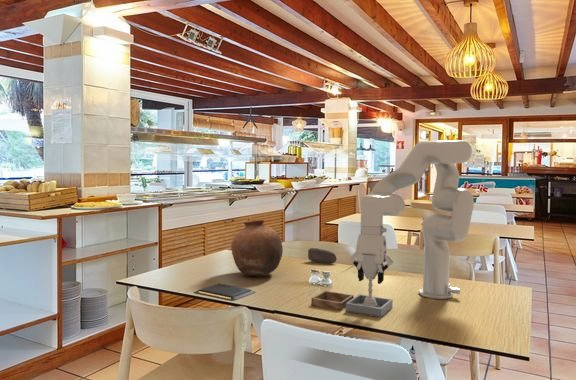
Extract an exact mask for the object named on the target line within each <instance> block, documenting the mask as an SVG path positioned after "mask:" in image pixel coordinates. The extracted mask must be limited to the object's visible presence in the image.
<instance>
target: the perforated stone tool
mask: <svg viewBox="0 0 576 380" xmlns="http://www.w3.org/2000/svg"><path fill="white" fill-rule="evenodd" d="M307 251H308V253H307V258H308V259H309V261H311V262H314V263H320V264H334V263H335V262H337V259H338V258H337V256H336V255H337V254H335V253H333V252H332V251H331V250H327V249H323V248H315V247H311V248H309V249H308V250H307Z"/></svg>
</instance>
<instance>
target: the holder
mask: <svg viewBox="0 0 576 380" xmlns="http://www.w3.org/2000/svg"><path fill="white" fill-rule="evenodd" d="M354 297H355V296H354V294H348V293H342V292H337V291H330V290H324V291H322V292H320V293H318V294H316V295H315V296H313V297H311V306H314V307H319V306H320V308H325V307H326V308H327V309H331V308H332V309H331V310H336V309H339V310H338V311H342V309H343V308H344V309H346V303H347V302H348V301H350V300H351V299H353V298H354ZM327 299H329V300H327ZM331 299H332V300H331ZM333 300H337V301H333ZM341 300H342V301H341ZM339 301H341V302H339ZM326 308H325V309H326ZM344 309H343V310H344Z"/></svg>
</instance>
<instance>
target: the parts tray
mask: <svg viewBox="0 0 576 380" xmlns="http://www.w3.org/2000/svg"><path fill="white" fill-rule="evenodd" d="M368 296H369V295H366V294H357V295H356V296H354V298H353V299H351V300H350V301H348V302H347V303H346V307H345V312H346V311H347V312H346V313H350V312H353V313H352V314H356V313H359V314H358V315H361V314H365V315H364V316H367V315H372V316H371V317H373V316H377V317H376V318H378V317H382V316H383V315H384V314H385V313H386V314H387V313H389V312H390V311H391V310H392V309H393V302H394V301H393V299H391V298H386V297H385V298H384V297H379V296H373V297H374V298H375V299H376V303H377V306H365V305H363V302H364V300H365V298H366V297H368ZM391 308H392V309H391ZM390 309H391V310H390ZM386 314H385V315H386ZM385 315H384V316H385ZM384 316H383V317H384ZM383 317H382V318H383Z"/></svg>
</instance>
